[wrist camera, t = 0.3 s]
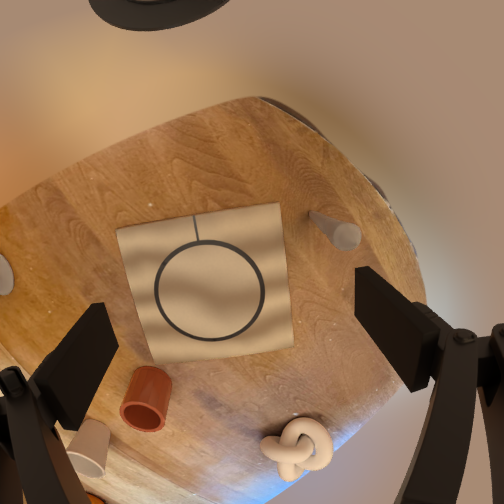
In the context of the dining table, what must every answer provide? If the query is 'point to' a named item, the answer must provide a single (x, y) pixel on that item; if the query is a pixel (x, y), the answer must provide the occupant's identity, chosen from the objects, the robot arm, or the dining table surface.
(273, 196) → the dining table surface
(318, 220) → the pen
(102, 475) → the dixie cup
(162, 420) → the pen pot
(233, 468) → the dining table surface
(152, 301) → the drawing board
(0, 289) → the wineglass
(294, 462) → the beige decorative knot
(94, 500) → the fruit
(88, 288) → the dining table surface
